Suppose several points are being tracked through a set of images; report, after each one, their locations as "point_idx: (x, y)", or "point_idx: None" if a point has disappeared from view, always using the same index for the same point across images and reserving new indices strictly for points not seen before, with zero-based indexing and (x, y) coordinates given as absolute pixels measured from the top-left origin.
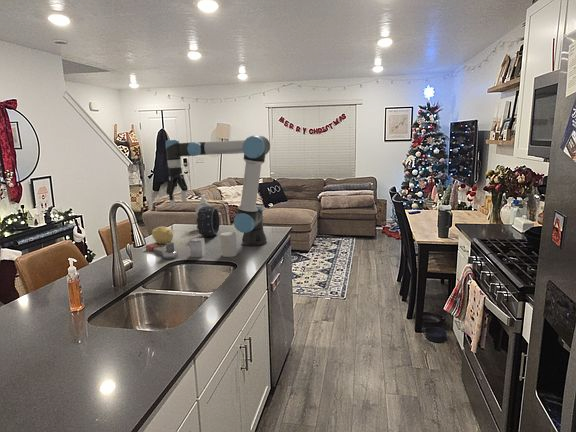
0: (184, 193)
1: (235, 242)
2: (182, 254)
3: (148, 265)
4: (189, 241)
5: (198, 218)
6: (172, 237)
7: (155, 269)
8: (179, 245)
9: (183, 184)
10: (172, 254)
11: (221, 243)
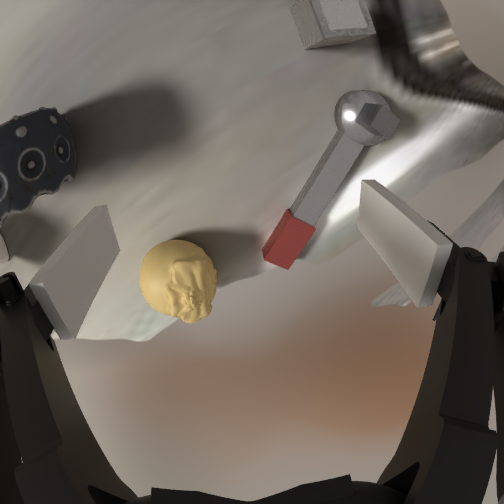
0: (66, 272)
1: None
2: (321, 88)
3: (432, 149)
4: (375, 33)
5: (46, 181)
6: (161, 243)
7: (455, 111)
8: (201, 176)
9: (7, 387)
10: (383, 100)
11: None
